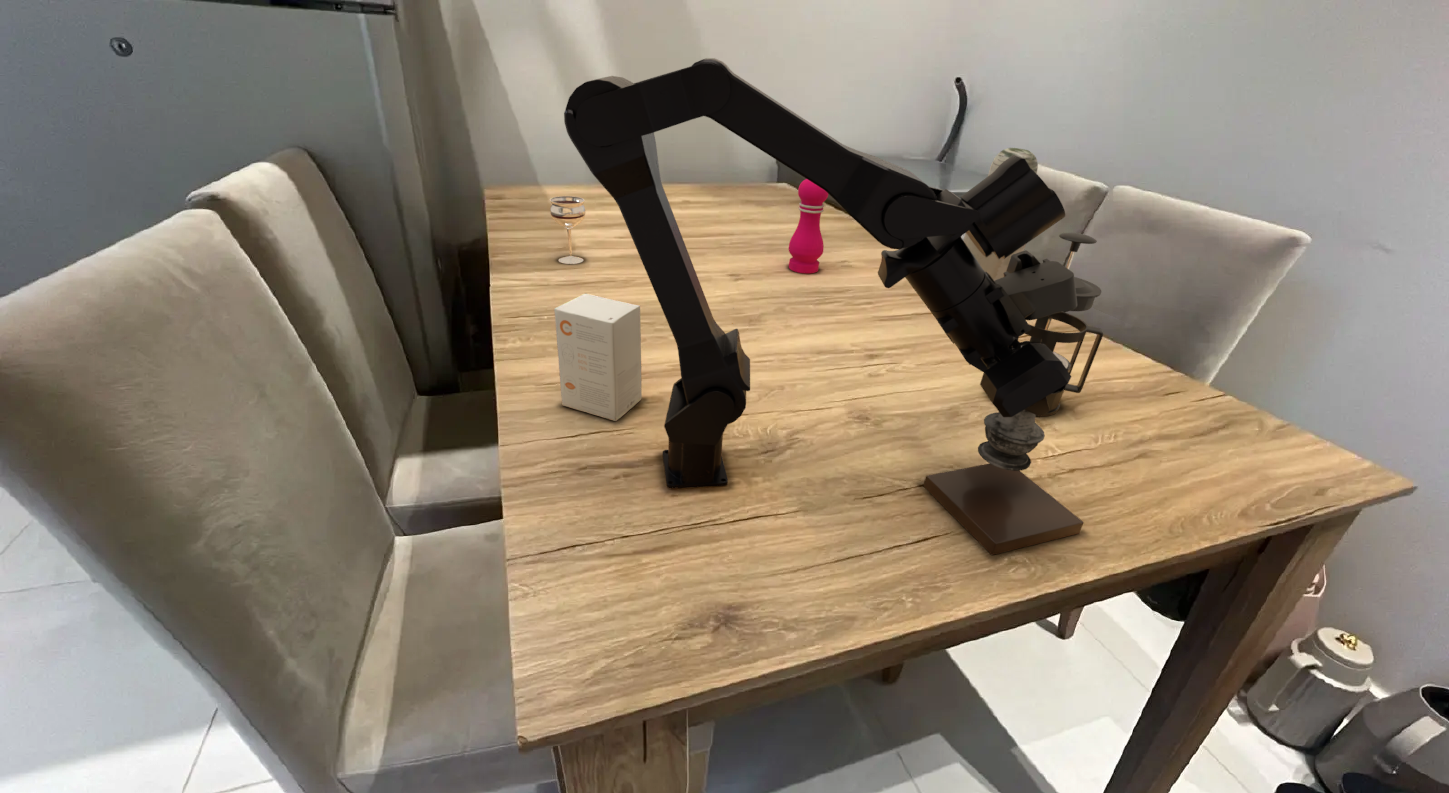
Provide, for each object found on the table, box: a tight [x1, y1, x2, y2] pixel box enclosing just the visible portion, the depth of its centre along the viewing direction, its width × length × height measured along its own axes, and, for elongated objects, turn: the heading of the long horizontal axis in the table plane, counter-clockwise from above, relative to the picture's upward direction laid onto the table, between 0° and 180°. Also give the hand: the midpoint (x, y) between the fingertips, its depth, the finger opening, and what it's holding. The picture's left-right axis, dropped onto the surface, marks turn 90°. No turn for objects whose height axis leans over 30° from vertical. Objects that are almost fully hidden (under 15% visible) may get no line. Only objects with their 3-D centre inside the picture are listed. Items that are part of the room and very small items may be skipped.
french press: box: [1023, 232, 1104, 417], centre depth 82 cm, size 12×9×23 cm
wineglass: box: [549, 195, 586, 265], centre depth 125 cm, size 7×7×12 cm
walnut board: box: [923, 463, 1085, 556], centre depth 65 cm, size 11×11×2 cm
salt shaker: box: [977, 410, 1046, 472], centre depth 63 cm, size 6×6×12 cm
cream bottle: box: [963, 147, 1039, 281], centre depth 113 cm, size 10×10×28 cm
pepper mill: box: [788, 178, 829, 274], centre depth 127 cm, size 7×7×20 cm
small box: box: [553, 293, 643, 422], centre depth 76 cm, size 8×6×13 cm
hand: (1036, 403), depth 63 cm, fingers closed on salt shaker, 3 cm apart
